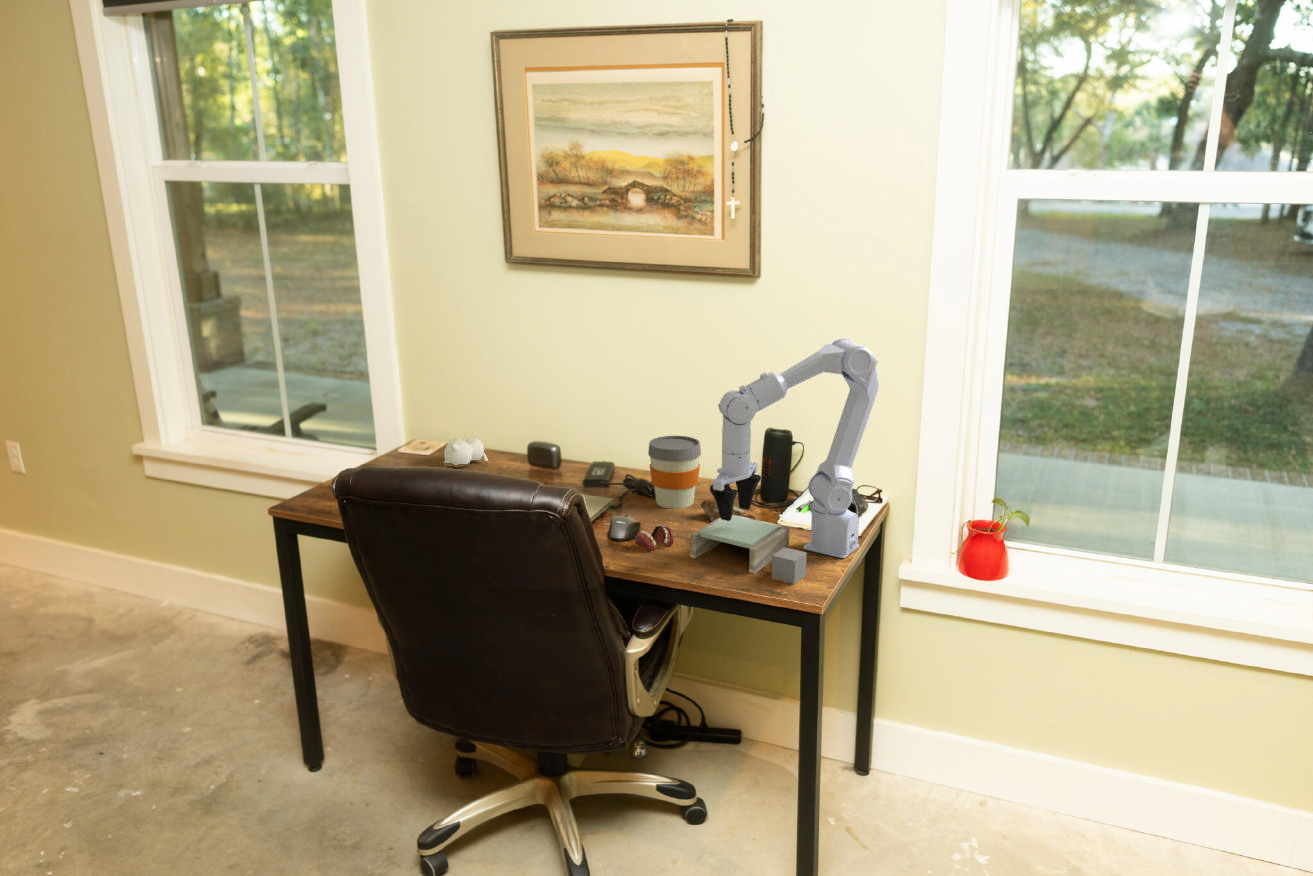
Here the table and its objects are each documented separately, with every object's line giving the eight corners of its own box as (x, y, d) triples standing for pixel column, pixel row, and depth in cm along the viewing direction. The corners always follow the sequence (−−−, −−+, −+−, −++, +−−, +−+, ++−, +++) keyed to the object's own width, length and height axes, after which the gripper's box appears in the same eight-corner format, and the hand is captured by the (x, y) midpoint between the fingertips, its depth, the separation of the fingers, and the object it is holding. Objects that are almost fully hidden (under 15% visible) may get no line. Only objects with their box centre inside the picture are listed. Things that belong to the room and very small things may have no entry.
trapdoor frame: (788, 549, 203) (789, 527, 202) (754, 573, 191) (755, 550, 190) (726, 534, 211) (727, 513, 210) (690, 556, 200) (690, 534, 198)
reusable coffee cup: (666, 514, 224) (665, 453, 220) (639, 499, 234) (638, 440, 230) (710, 504, 230) (711, 444, 226) (683, 490, 241) (682, 432, 236)
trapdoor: (729, 519, 208) (729, 514, 208) (779, 530, 201) (779, 525, 201) (700, 536, 199) (700, 532, 198) (750, 548, 192) (750, 544, 192)
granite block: (805, 576, 190) (806, 552, 189) (794, 584, 186) (795, 561, 185) (783, 570, 193) (783, 547, 192) (771, 579, 189) (772, 555, 188)
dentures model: (631, 528, 205) (661, 520, 209) (631, 546, 206) (661, 538, 211) (646, 536, 201) (677, 528, 205) (646, 555, 202) (676, 547, 206)
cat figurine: (477, 426, 265) (444, 434, 256) (501, 452, 261) (468, 461, 252) (467, 449, 270) (433, 458, 260) (490, 474, 266) (456, 484, 257)
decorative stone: (721, 489, 226) (772, 511, 217) (719, 506, 228) (770, 528, 218) (694, 499, 219) (746, 522, 210) (692, 517, 221) (744, 540, 211)
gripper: (737, 439, 201) (736, 500, 205) (700, 456, 190) (699, 520, 194) (766, 444, 197) (765, 506, 201) (730, 462, 186) (730, 527, 190)
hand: (735, 514), depth 197 cm, fingers open, 7 cm apart
